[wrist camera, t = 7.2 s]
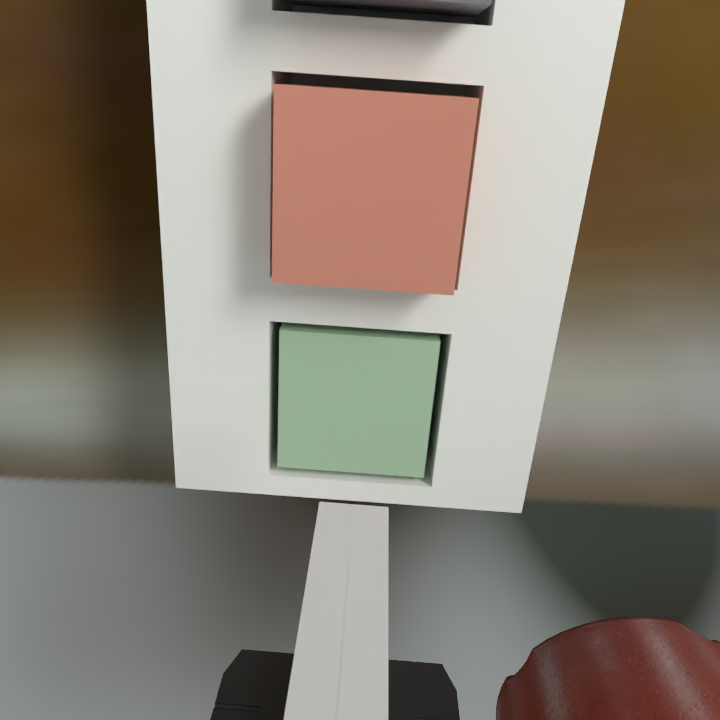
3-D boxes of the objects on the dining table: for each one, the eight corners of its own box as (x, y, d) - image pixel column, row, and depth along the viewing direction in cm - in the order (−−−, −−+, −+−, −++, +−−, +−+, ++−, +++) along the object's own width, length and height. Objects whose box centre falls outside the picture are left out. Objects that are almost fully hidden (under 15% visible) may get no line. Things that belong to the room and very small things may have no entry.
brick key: (290, 84, 18) (273, 84, 15) (464, 96, 18) (479, 98, 15) (286, 255, 20) (271, 282, 17) (444, 266, 20) (453, 295, 17)
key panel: (185, -242, 18) (125, -339, 14) (615, -212, 18) (686, -301, 14) (208, 424, 26) (175, 487, 22) (499, 445, 26) (521, 513, 22)
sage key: (292, 299, 22) (279, 330, 20) (433, 310, 22) (440, 341, 20) (289, 423, 24) (277, 467, 22) (418, 433, 24) (423, 477, 22)
